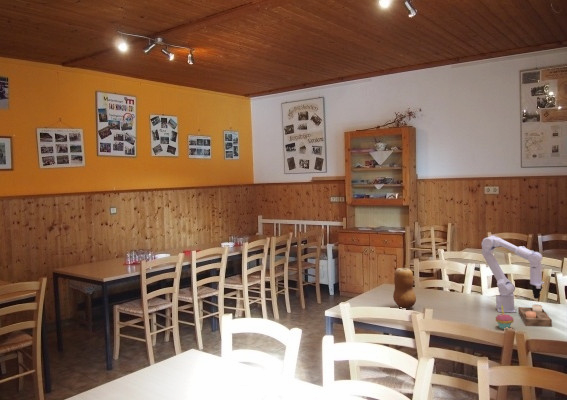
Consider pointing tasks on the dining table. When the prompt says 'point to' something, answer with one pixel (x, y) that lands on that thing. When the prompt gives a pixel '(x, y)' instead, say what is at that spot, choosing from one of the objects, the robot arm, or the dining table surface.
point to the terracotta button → (531, 314)
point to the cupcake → (504, 320)
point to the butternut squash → (404, 288)
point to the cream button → (536, 308)
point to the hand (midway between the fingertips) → (536, 298)
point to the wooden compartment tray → (540, 319)
